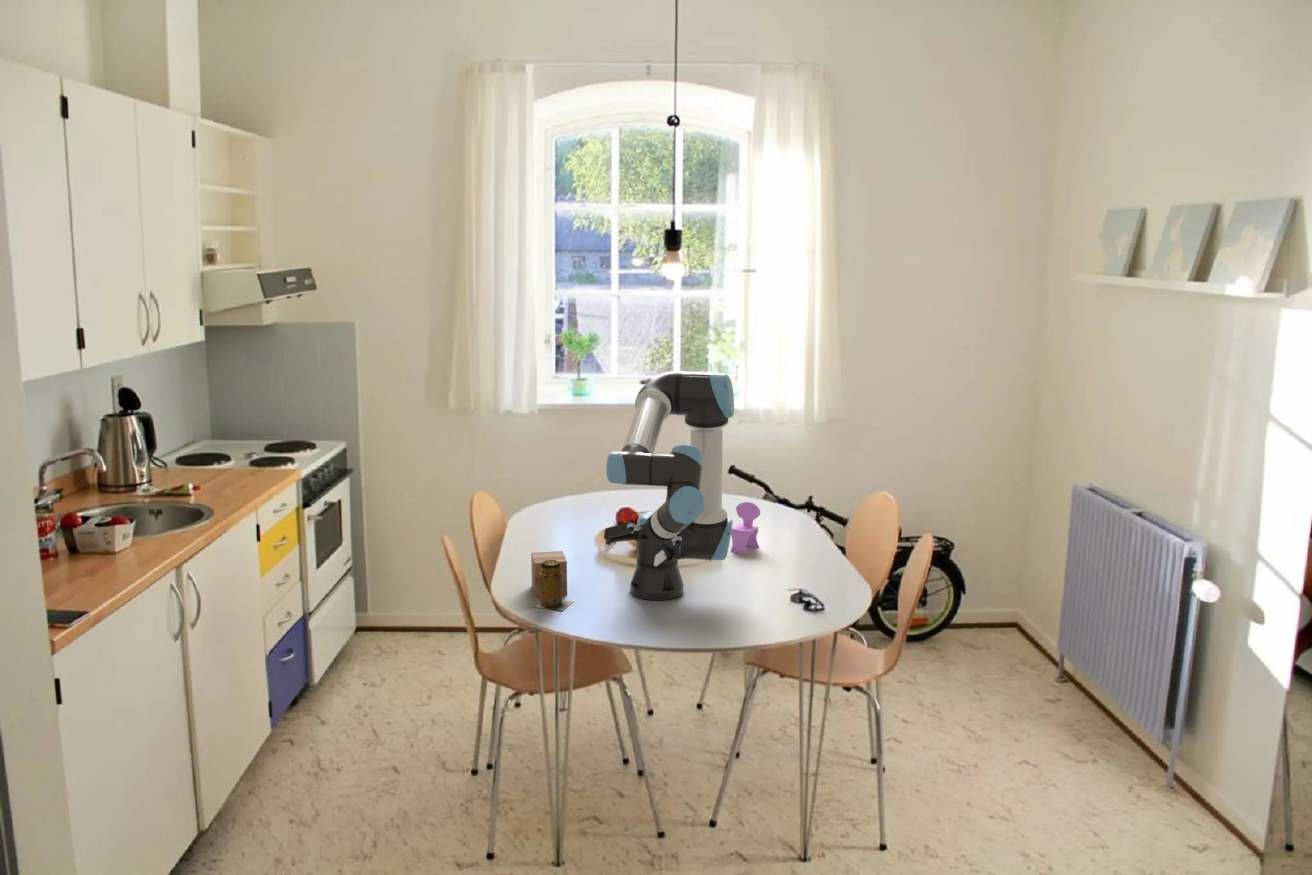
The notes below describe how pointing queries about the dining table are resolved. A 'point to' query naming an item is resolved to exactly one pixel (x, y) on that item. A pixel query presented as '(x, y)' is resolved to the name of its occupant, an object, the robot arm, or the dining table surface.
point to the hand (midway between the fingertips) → (631, 554)
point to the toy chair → (745, 528)
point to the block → (536, 569)
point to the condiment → (551, 586)
